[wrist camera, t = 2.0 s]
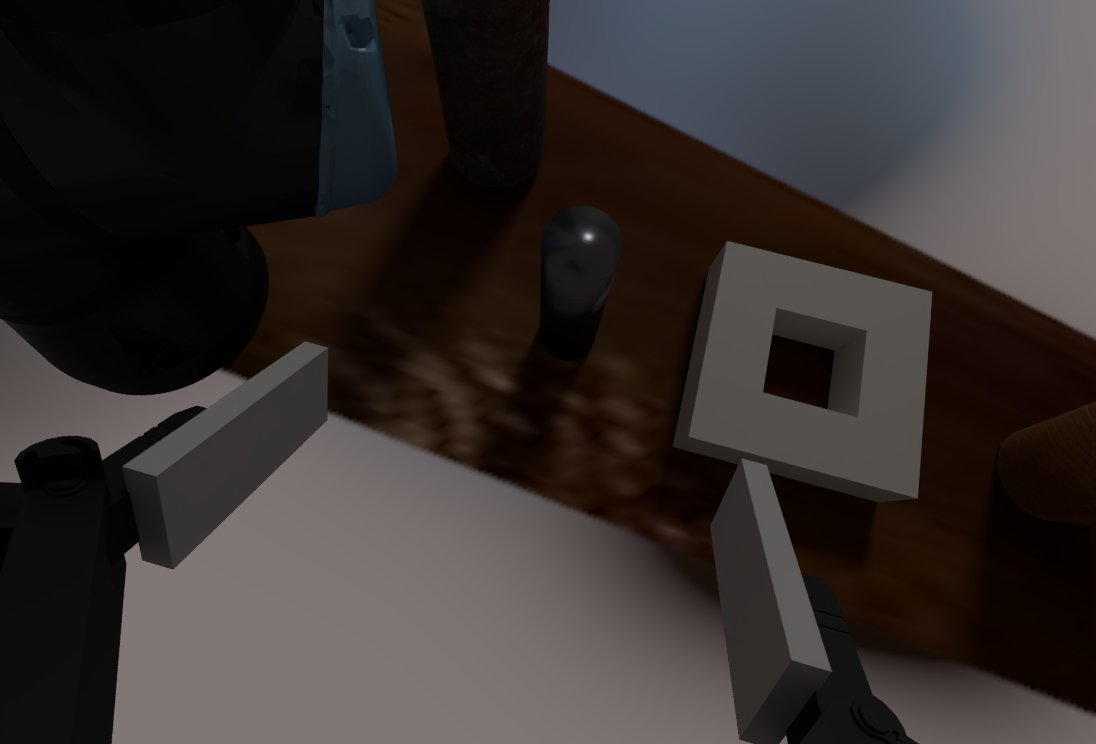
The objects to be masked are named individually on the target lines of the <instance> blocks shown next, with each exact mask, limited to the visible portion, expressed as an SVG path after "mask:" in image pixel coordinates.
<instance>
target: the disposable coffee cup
mask: <svg viewBox="0 0 1096 744" xmlns="http://www.w3.org/2000/svg"><path fill="white" fill-rule="evenodd" d="M997 470H998V475H999V478H1000V481H1001V484H1002V486H1003V487H1004V489H1005V491H1006V492H1007V494H1008V496H1009V497H1010V498H1011V499H1012V500H1013V502H1014V503H1015V504H1017V505H1018V506H1019V507H1020V508H1021V509H1022V510H1024V511H1025V512H1027V513H1029V514H1030V515H1032V516H1034V517H1036V518H1039V519H1042V520H1046V521H1052V522H1064V523H1073V524H1081V525H1090V526H1096V402H1094V403H1092V404H1089V405H1086V406H1084V407H1081V408H1079V409H1075V410H1073V411H1071V412H1067V413H1065V414H1063V415H1059V416H1057V417H1055V418H1054V419H1053V418H1051V419H1049V420H1047V421H1046V422H1045V421H1043V422H1041V423H1039V424H1035V425H1033V426H1031V427H1027V428H1025V429H1022V430H1019V431H1016V432H1014V433H1012V434H1011V435H1010V436H1008V437H1007V438H1006V439H1005V440H1004V442H1003V443H1002V445H1001V447H1000V449H999V452H998V457H997Z"/></svg>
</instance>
